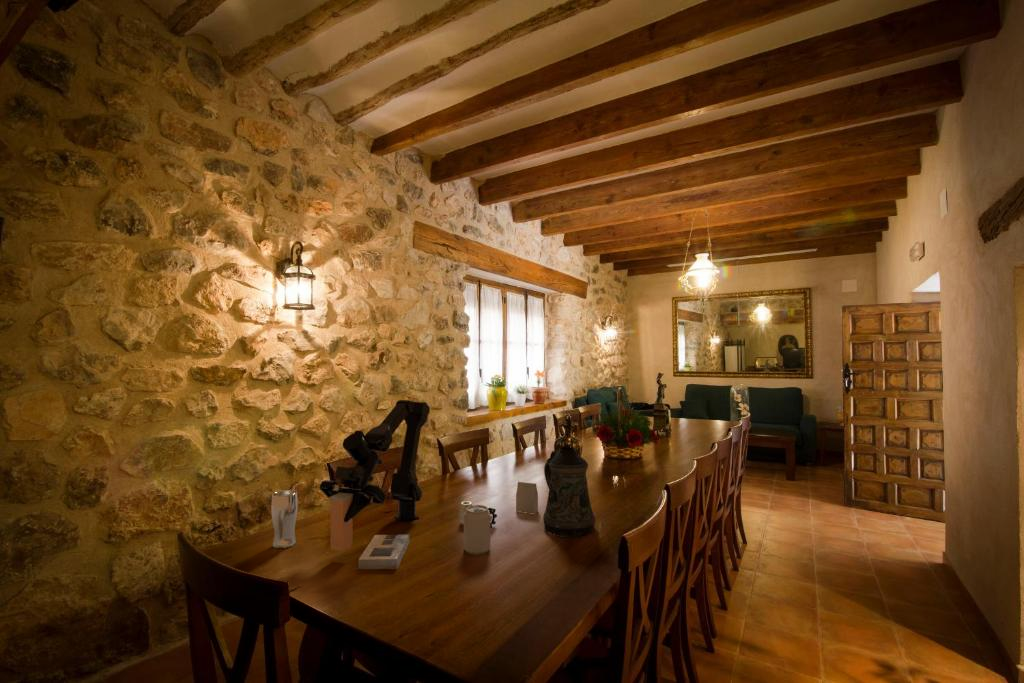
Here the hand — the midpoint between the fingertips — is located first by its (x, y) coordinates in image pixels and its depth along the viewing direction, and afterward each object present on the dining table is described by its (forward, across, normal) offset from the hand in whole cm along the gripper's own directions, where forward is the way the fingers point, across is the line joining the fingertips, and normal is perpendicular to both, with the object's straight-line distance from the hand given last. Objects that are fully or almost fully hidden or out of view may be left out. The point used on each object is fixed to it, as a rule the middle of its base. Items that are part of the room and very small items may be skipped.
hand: (338, 520), depth 129 cm
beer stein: (-23, +52, +39) cm, 69 cm away
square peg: (+4, 0, +6) cm, 8 cm away
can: (-5, +33, +21) cm, 39 cm away
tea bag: (-30, +36, +46) cm, 66 cm away
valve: (-18, +25, +34) cm, 46 cm away
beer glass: (+5, -22, +11) cm, 25 cm away
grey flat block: (+3, +10, +13) cm, 16 cm away
